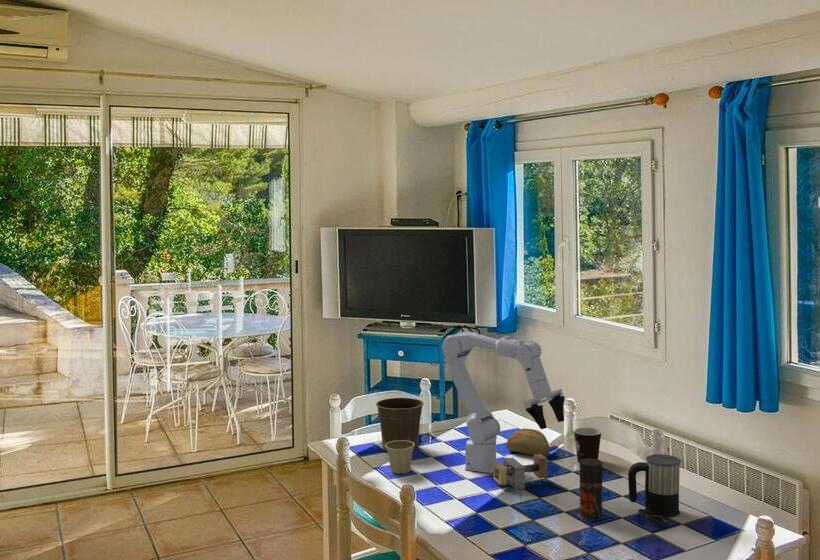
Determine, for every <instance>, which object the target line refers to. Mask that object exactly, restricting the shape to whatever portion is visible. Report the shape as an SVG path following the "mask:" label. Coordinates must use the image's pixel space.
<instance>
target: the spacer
mask: <svg viewBox="0 0 820 560" xmlns="http://www.w3.org/2000/svg"><path fill="white" fill-rule="evenodd" d="M496 468H497V469H498V470H499V476H495V475H494V469H496ZM492 474H493V476H492V477H493V480H494V481H495V482H497V484H498V485H499V486H504V485H505V486H506V485H507V484H508V483H507V468H506V467H505V466H504V464H503V463H502V462H501V461H496V463H493V473H492Z"/></svg>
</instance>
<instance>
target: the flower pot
mask: <svg viewBox="0 0 820 560" xmlns="http://www.w3.org/2000/svg"><path fill="white" fill-rule="evenodd" d="M414 446H415V444H414V443H413V442H411V441H405V440H398V441H391V442H388V443H386V444H385V447H386V449H387V457H388V460H389V465H390V472H391V473H393V474H395V473H396V474H397V475H399V474H408V473H410V472H411V469H412V459H413V452H414V451H413V448H414ZM412 451H413V452H412ZM396 474H395V475H396Z"/></svg>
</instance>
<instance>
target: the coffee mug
mask: <svg viewBox="0 0 820 560" xmlns="http://www.w3.org/2000/svg"><path fill="white" fill-rule="evenodd" d="M573 433H574V441H575V450H576V459H577V463H579V464H580V460H582V459H587V458H592V459H598V460H599V455H600V447H601V446H600V445H601V438H602V430H601V429H598V428H595V427H579V428H575V429H574V430H573Z"/></svg>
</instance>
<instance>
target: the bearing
mask: <svg viewBox="0 0 820 560" xmlns="http://www.w3.org/2000/svg"><path fill="white" fill-rule="evenodd" d="M503 465H504V466H505V467H511V474H510V475H507V484H508V485H509V486H510V487H512V488H513V489H514V490H525V489H526V473H525V467H524V466H523V465H524V464H521V462H519V461H517V459H515V458H514V457H508V458H507V457H506V458H503Z"/></svg>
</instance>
